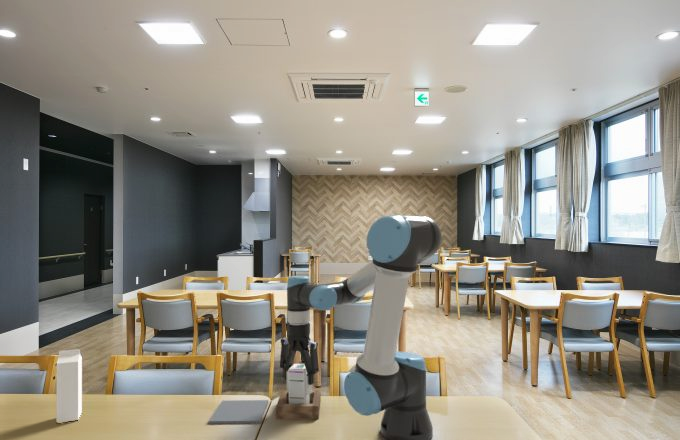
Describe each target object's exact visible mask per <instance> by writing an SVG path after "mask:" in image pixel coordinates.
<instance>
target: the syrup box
mask: <svg viewBox="0 0 680 440" xmlns="http://www.w3.org/2000/svg"><path fill="white" fill-rule="evenodd" d="M306 374H307V371H306V367H305V364H304V363H292V366H291V367H290V368H289V369H288V386H289V404H310V394H309V395H305V375H306Z"/></svg>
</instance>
